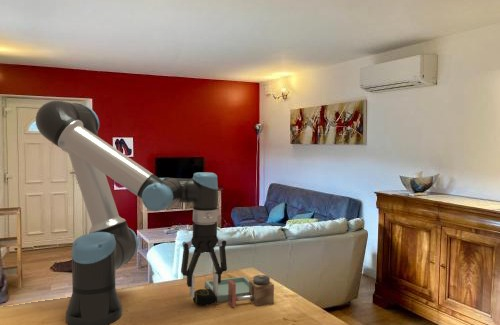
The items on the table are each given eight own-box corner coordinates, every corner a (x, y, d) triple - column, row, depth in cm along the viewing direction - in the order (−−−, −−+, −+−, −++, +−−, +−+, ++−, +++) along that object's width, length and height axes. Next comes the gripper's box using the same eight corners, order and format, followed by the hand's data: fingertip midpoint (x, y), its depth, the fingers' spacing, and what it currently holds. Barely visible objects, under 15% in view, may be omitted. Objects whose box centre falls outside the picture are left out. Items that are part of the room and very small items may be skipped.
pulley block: (256, 306, 130) (256, 279, 129) (249, 299, 135) (249, 274, 135) (273, 303, 132) (274, 277, 132) (265, 297, 138) (266, 272, 137)
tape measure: (217, 306, 128) (217, 294, 128) (195, 309, 126) (195, 296, 126) (212, 298, 135) (212, 287, 135) (191, 300, 133) (191, 289, 132)
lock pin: (232, 306, 128) (232, 284, 128) (228, 302, 132) (228, 280, 131) (272, 301, 133) (272, 279, 133) (267, 296, 137) (267, 275, 136)
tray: (217, 303, 132) (217, 296, 132) (204, 287, 146) (204, 281, 146) (261, 297, 138) (261, 290, 137) (244, 282, 151) (244, 276, 151)
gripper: (175, 226, 122) (174, 303, 124) (239, 223, 129) (237, 295, 131) (170, 221, 129) (169, 294, 130) (231, 218, 136) (229, 287, 138)
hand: (203, 294), depth 131 cm, fingers closed on tape measure, 7 cm apart
